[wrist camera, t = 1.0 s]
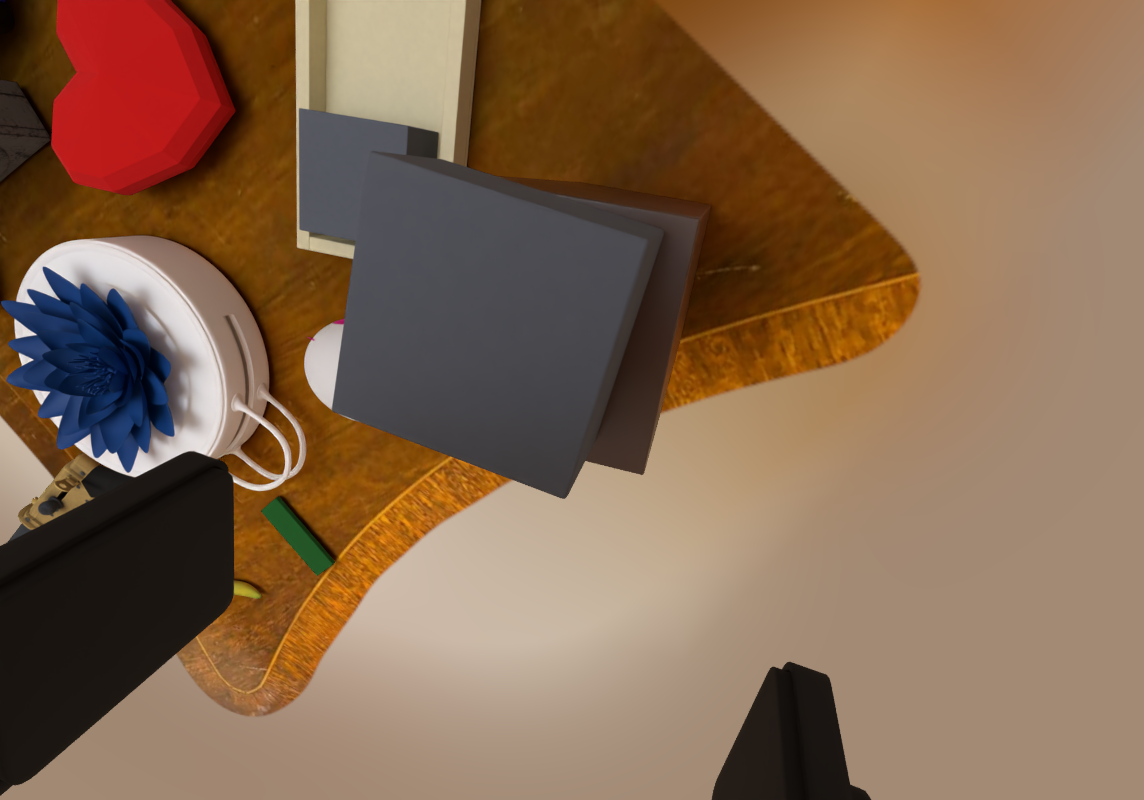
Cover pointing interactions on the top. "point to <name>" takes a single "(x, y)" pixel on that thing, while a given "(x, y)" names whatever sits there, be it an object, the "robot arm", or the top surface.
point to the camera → (17, 128)
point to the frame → (387, 73)
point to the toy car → (6, 17)
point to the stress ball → (324, 361)
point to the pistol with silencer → (69, 492)
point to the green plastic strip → (297, 536)
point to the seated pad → (345, 165)
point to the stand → (643, 315)
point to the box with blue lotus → (143, 355)
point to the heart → (135, 94)
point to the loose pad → (487, 316)
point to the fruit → (246, 590)
